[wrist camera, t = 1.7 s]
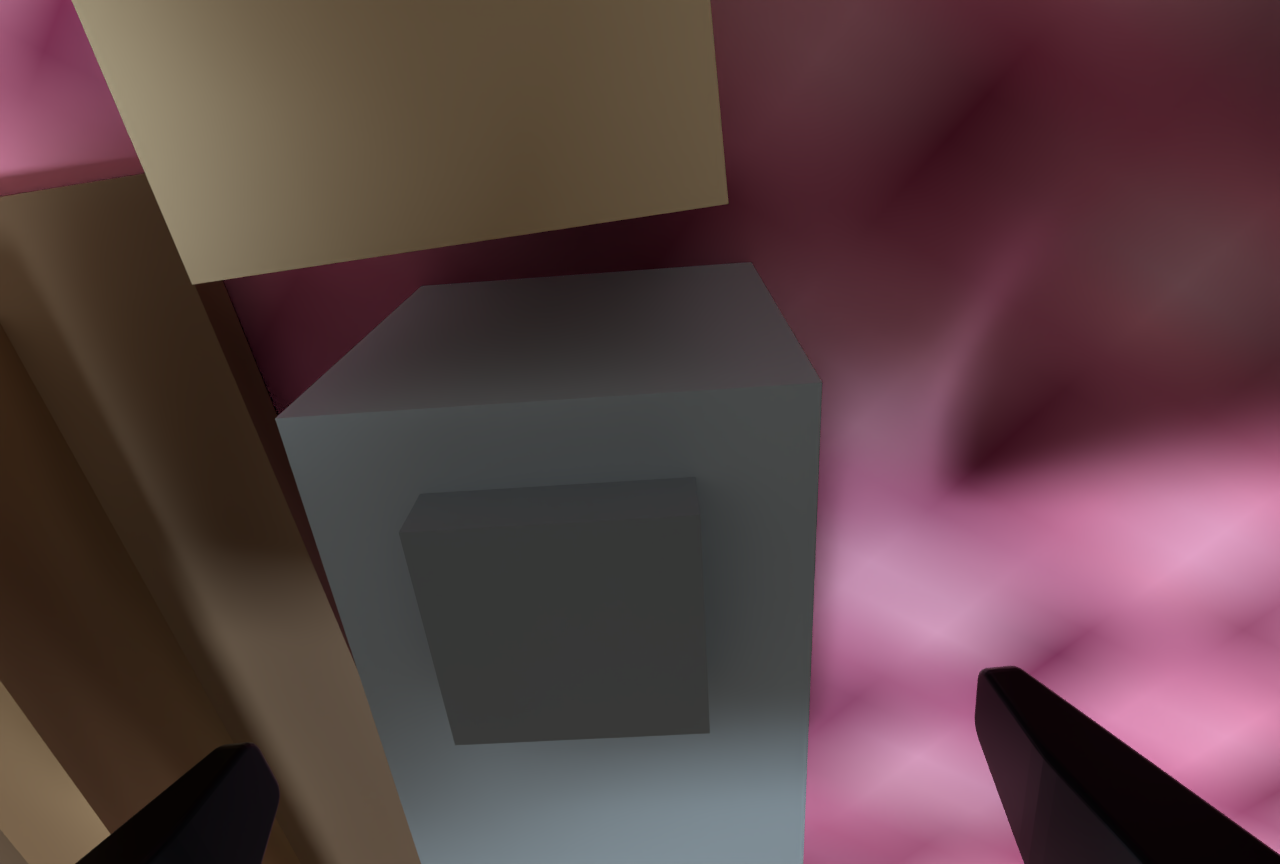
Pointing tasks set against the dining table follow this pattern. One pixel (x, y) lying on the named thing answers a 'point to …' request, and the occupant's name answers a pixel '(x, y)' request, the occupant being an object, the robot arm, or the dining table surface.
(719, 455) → the grey block
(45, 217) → the tray
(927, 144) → the dining table surface
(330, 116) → the tan rectangular block
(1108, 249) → the dining table surface
